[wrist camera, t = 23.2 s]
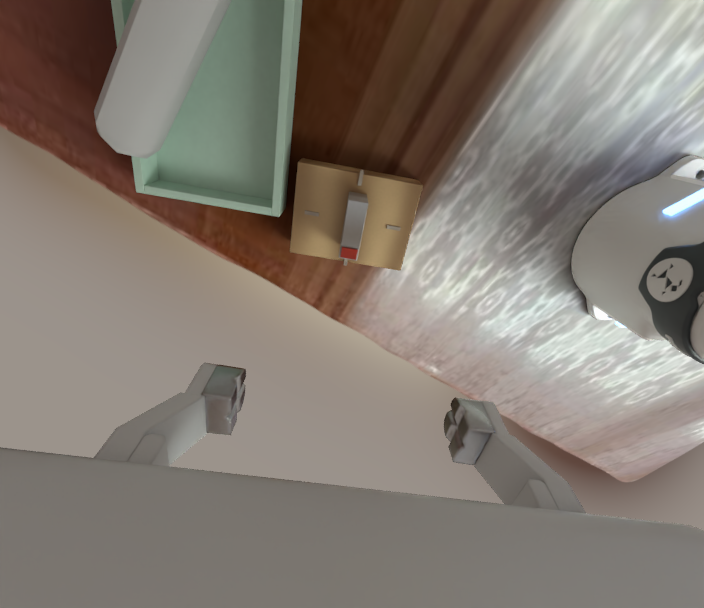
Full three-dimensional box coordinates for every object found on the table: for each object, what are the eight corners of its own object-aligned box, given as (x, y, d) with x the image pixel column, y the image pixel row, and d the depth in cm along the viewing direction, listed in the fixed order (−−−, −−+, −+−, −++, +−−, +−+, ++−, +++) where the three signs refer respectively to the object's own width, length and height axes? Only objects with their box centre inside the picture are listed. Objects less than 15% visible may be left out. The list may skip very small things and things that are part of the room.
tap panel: (419, 176, 35) (424, 181, 32) (396, 263, 40) (399, 274, 37) (302, 154, 34) (297, 157, 31) (293, 245, 39) (288, 255, 36)
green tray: (322, -243, 22) (316, -301, 19) (285, 208, 37) (279, 217, 34) (104, -305, 21) (60, -377, 18) (155, 185, 36) (135, 192, 32)
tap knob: (348, 191, 33) (348, 200, 29) (367, 194, 33) (368, 203, 30) (339, 245, 35) (338, 258, 32) (356, 247, 36) (357, 262, 32)
